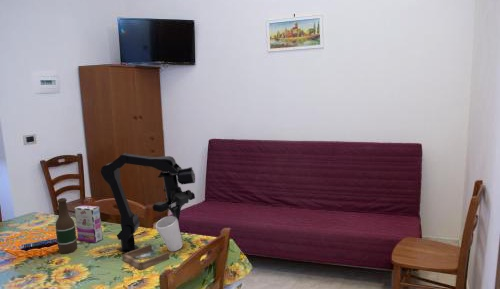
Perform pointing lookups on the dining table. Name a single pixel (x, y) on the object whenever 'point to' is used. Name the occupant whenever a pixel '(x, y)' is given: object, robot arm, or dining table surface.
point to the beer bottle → (65, 229)
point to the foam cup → (170, 232)
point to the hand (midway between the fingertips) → (177, 219)
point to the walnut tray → (142, 265)
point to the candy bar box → (88, 223)
